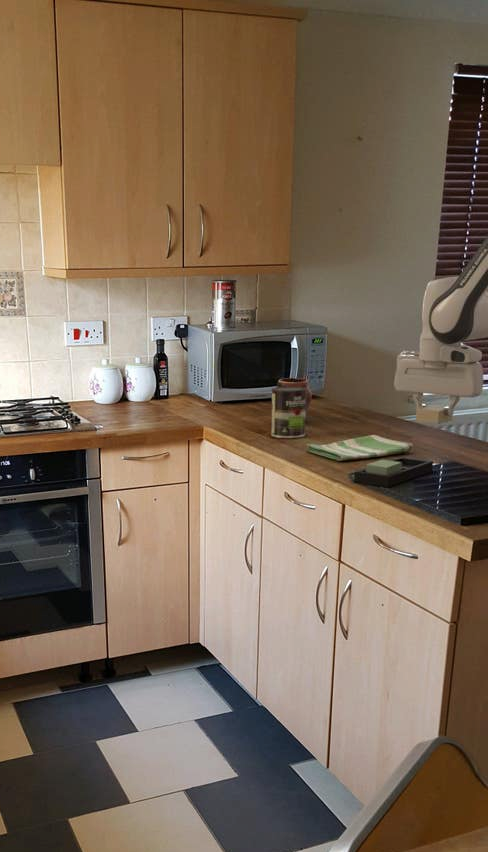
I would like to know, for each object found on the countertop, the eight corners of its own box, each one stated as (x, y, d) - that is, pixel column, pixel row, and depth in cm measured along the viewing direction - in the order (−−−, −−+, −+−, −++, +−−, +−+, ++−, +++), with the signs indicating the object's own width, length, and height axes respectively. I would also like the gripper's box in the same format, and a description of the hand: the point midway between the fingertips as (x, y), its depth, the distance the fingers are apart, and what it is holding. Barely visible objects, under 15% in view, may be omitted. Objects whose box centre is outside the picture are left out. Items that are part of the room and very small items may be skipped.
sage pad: (401, 474, 207) (402, 462, 206) (386, 480, 202) (386, 467, 201) (380, 471, 211) (381, 459, 210) (365, 477, 206) (365, 464, 205)
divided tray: (432, 471, 214) (433, 461, 213) (388, 487, 200) (388, 476, 199) (399, 466, 220) (400, 456, 219) (354, 482, 206) (354, 471, 205)
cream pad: (452, 420, 202) (453, 407, 200) (437, 424, 197) (438, 411, 196) (430, 417, 205) (431, 405, 204) (415, 422, 200) (416, 408, 199)
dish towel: (304, 451, 242) (305, 441, 241) (375, 443, 250) (375, 433, 249) (341, 463, 226) (341, 452, 225) (415, 453, 234) (416, 443, 234)
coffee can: (311, 436, 263) (313, 388, 258) (282, 439, 259) (283, 391, 254) (293, 431, 272) (294, 385, 267) (264, 434, 268) (265, 387, 263)
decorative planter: (320, 426, 279) (321, 382, 274) (283, 428, 277) (284, 384, 272) (300, 416, 298) (301, 375, 293) (265, 418, 296) (265, 377, 291)
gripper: (391, 350, 200) (387, 411, 205) (476, 355, 187) (470, 420, 192) (404, 348, 205) (400, 407, 209) (489, 352, 191) (483, 416, 196)
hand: (434, 413), depth 200 cm, fingers closed on cream pad, 5 cm apart
